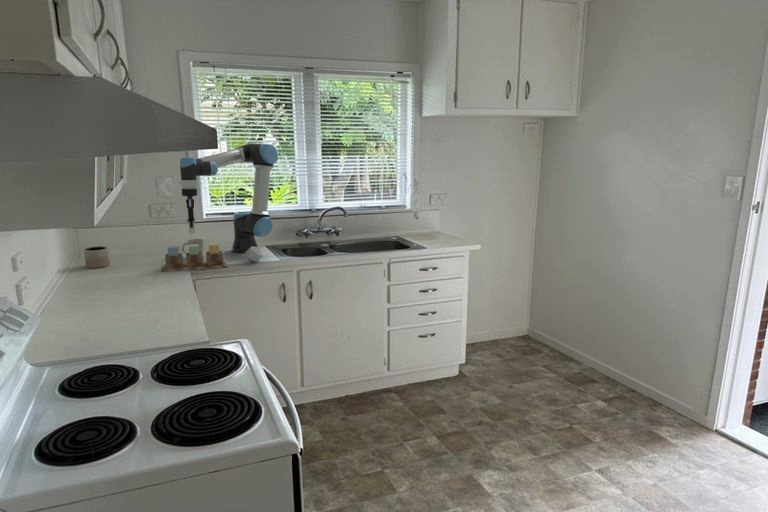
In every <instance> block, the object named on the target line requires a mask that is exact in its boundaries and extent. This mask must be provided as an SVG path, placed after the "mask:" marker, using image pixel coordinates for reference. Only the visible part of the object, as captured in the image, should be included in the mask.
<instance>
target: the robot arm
mask: <svg viewBox="0 0 768 512" xmlns="http://www.w3.org/2000/svg"><path fill="white" fill-rule="evenodd" d="M278 160H279V151H278V149H277V147H276V146H275V144H272V143H269V142H251V143H246V144H243V145H240V146H236V147H235V148H234V149H232V150H226V151H224V152H220V153H214V154H212V155H211V154H210V155H207V156H203V157H199V158H195V157H181V158H179V169H180V171H179V173H180V181H179V183H180V185H181V196H182V197H187V198H186V199H185V203H186V209H187V214H188V217H187V218H188V219H187V223H188V233H189V235H190V234H191V235H193V234H196V231H195V230H196V228H195V222H196V219H195V217H194V208H195V199H194V198H193V197H197V196H198V188H197V187H198V181H197V180H198V179H197V177H206V176H207V177H208V176H210V177H211V176H216V175H217V174H218V170H219V168H223V167H226V166H229V165H234V164H237V163H239V164H244V163H252V166H253V167H254V182H253V183H254V185H253V195H252V196H253V197H252V209H251V210H250V211H249V212H247V211H246V212H239V213H235V214H233V230H234V231H233V233H234V239H233V243H232V248H231V249H232V252H234V253H238V254H239V253H242V254H244V253H245V252H246V251H247V250H249V249H250V248H251V247H259V245H258V242H257V240H256V238H255V237H262V238H263V237H268V235H270V234H271V232H272V230H273V227H274V226H273V221H272V219H271V218H270V217H271V216H270V213H269V211H268V206H269V195H270V194H269V193H270V182H271V181H270V179H271V170H273V169H274V166H275V163H277V162H278Z"/></svg>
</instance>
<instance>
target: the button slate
mask: <svg viewBox="0 0 768 512" xmlns="http://www.w3.org/2000/svg"><path fill="white" fill-rule="evenodd" d="M179 247H180V246H179V245H178V244H176V245H168V246H167V254H168V256H179V253H180V252H179V251H180V248H179Z"/></svg>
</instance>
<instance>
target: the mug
mask: <svg viewBox="0 0 768 512" xmlns="http://www.w3.org/2000/svg"><path fill="white" fill-rule="evenodd" d="M193 244H199V252H202V254H204V253H203V251H204V239H201V238H191V239H188V240H187V242H184V243H183V244H182V246H181V251H182V253H184V254H185V255H186V253H188V252H187V251H186V250H185V246H188V247H189V245H193Z"/></svg>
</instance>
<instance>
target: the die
mask: <svg viewBox="0 0 768 512" xmlns="http://www.w3.org/2000/svg"><path fill="white" fill-rule="evenodd" d="M244 255H245V256H246V258H247V261H248V262H249V261H254V262H253V263H258V262H259V261H260V260H261V259H262V258H263V257H264V254H263V253H262V250H261V248H260V247H259V246H258V247H251V248H250V249H249V250H247V251H246V252H245V254H244ZM257 261H258V262H257Z"/></svg>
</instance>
